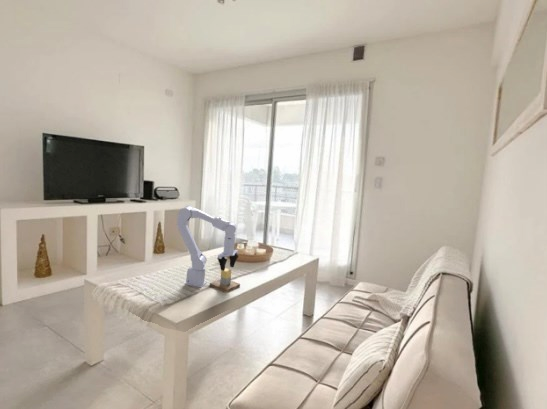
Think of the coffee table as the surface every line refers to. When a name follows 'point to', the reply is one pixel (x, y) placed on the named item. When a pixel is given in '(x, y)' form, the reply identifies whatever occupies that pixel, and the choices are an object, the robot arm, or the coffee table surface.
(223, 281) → the grey block
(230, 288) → the walnut base
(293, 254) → the coffee table surface
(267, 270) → the coffee table surface
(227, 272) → the mustard block
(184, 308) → the coffee table surface
